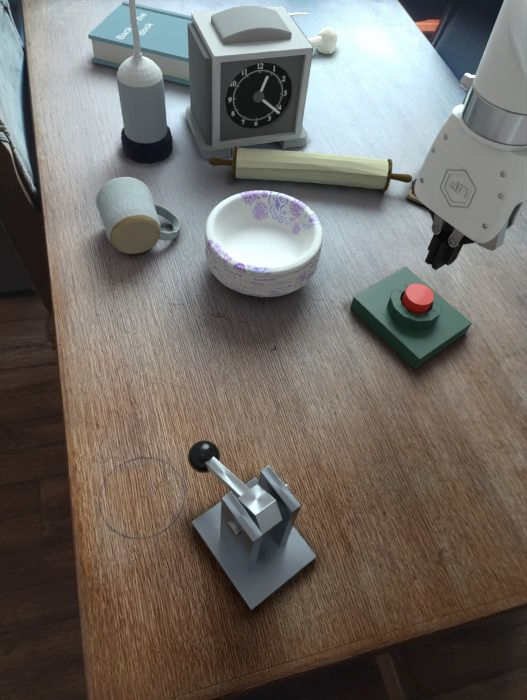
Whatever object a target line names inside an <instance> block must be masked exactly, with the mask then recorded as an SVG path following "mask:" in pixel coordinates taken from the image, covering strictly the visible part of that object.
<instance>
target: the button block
mask: <svg viewBox="0 0 527 700" xmlns="http://www.w3.org/2000/svg"><path fill="white" fill-rule="evenodd" d="M411 284H423V285H425V286H427V287H429V288H430V289H431V290H432V292H433V294H434V300H433V302H432V304H431V306H430V308H429V310H428V311H427V312H425V313H422V314H416V313H413V312H410V311H408V310H407V309H406V308H405V307H404V306H403V304H402V298H403V295H404V293H405V291H406V288H407V287H408V286H409V285H411ZM349 308H350V309H351V310H352V311H353V312H354V313H355V314H356V315H358V316H359V318H360V319H362V320H363V321H364V323H366V325H368V326H369V327H370V328H371V329H372V330H373V331H374V332H375V333H376V334H377V335H378V336H379V337H380V338H381V339H383V341H385V342H386V343H387V344H388V346H390V347H391V348H392V349H393V350H394V351H395V352H396V353H397V354H398V355H399V356H400V357H401V358H402V359H403V360H405V362H406V363H408V365H409V366H411V367H412V368H413V369H414V370H415V369H417V368H419V367H420V366H421V365H422V364H424V363H425V362H427V361H428V360H430V359H431V358H432V357H434V356H435V355H437V354H438V353H440V352H441V351H442V350H444V349H445V348H447V347H448V346H450V345H451V344H453V343H454V342H456V341H457V340H459V339H460V338H461V337H462V336H464V335H466V334H467V332H468V330H469V329H470V328H471V326H472V324H473V322H472V321H470V320H469V319H468V318H467V317H465V315H463V314H462V313H461V312H460V311H459V310H457V309H456V308H455V307H454V306H452V304H450V303H449V302H448V301H447V300H446V299H445V298H443V297H442V296H441V295H440V294H439V293H438V292H437V291H435V290H434V289H433V288H432V287H431V286H429V285H428V284H427V283H426V282H425V281H423V280H422V279H421V278H420V277H419V276H418V275H417V274H415V273H414V272H413V271H412V270H411V269H409V268H408V267H407V266H404V267H402V268H401V269H399V270H397V271H396V272H393V273H392V274H390V275H389V276H387V277H385V278H383V279H382V280H380V281H378V282H376V283H375V284H374V285H372V286H370V287H368V288H366V289H365V290H363V291H362V292H359V293H358V294H356V295H354V296H353V298H352V301H351V304H350V307H349Z"/></svg>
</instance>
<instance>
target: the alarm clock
mask: <svg viewBox="0 0 527 700" xmlns="http://www.w3.org/2000/svg"><path fill="white" fill-rule="evenodd" d="M288 13H289V12H288V11H287V9H286V8H285V7H284V6H283V5H282V6H281V5H280V6H279V5H278V6H269V7H268V6H266V7H264V6H257V5H241V6H234V7H231V8H227V9H223V10H211V11H210V10H209V11H208V10H207V11H195V12H194V11H193V12H191V13H190V14H191V15H190V16H191V19H192V23H187V27H188V54H189V81H190V86H189V104H190V105H187V106H186V108H185V117H186V121H187V123H188V125H189V128H190V130H191V133H192V135H193V137H194V139H195V142H196V144H197V147H198V149H199V152H200V154H201V156H202V157H204V159H210V158H226V157H231V154H232V153H231V152H232V151H231V149H232V148H234V146H237V148H240V147H244V146H245V147H246V146H253V145H261V144H268V143H274V142H275V143H276V142H279V144H280V145H281V147H282V149H291V148H298V147H304V146H305V145H306V143H307V138H308V137H307V136H308V133H307V131H306V129H305V127H304V126H303V122H304V117H305V109H306V101H307V95H308V87H309V82H310V75H311V67H312V60H313V53H314V48H313V46H312V44H311V43H310V41H309V40H308V39H309V38H307V36H306V34H305V33H304V32H303V30H302V29H301V28H300V26H299V25H298V23H297V22H296V20H295V19H294V18H293V16H290V15H289V14H288Z"/></svg>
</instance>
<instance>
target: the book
mask: <svg viewBox="0 0 527 700" xmlns="http://www.w3.org/2000/svg"><path fill="white" fill-rule="evenodd" d="M135 5H136V18H137V25H138V30H139V38H140V52H141V53H142V56H144V57H147V58H149V59H150V60H152V61H153V62H154V63H155V64H156V65H157V66H158V67H159V68H160V70H161V72H162V75H163V76H162V77H163V80H164V81H170V82H173V83H176V84H177V83H178V84H182V85H186V86H189V87H190V81H189V54H188V27H187V23H192V19H191V15H187V14H183V13H178V12H175V11H170V10H167V9H163V8H157V7H153V6H148V5H145V4H139V3H135ZM87 37H88V39H89V40H91V45H92V50H93V57H92V58H91V59H92V63H95V64H99V65H103V66H107V67H110V68H115V69H119V67H120V65H121V64H122V63H123V62H124V61H125V60H126V59H128V58H130V57H132V56H133V53H134V45H133V33H132V27H131V22H130V8H129V1H127V0H123V1H122V2H121V4H119V5H118V6H117V7H116V8H115V9H114V10H113V11H111V12H110V14H109V15H107V16H106V17H105V18H104V19H103V20H102V21H100V23H99V24H97V26H95V27H94V28H93V29H92V30H91V31H90V32H89V33H88V34H87Z"/></svg>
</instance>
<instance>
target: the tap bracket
mask: <svg viewBox="0 0 527 700" xmlns="http://www.w3.org/2000/svg"><path fill="white" fill-rule="evenodd" d="M244 484H245V485H246V486H247V487H248V488H249V489H251V488H253V487H254V486H256V485H257V484H258V485H259V486H261V487H262V488H263V489H264V490H265V491H266V492H267V493H269V494H270V495H271V496H272V497H273V498H274V499H275V500H276V501H277V504H278V507H279V510H280V513H281V517H282V520H281V521H280V522H279V523H277V524H276V525H275V526H273V527H272V528H271V529H269V530H268V531H267V532H265V533H264V534H262V532H261V531H260V530H259V528H258V527H257V526H256V524H255V523H254V522H253V520H252V519H251V517H250V516H249V515H248V513H247V512H246V511H245V509H244V508H243V507H242V505H241V504H240V503H239V501H238V498H237V497H236V496H234V494H233V493H232V492H230V491H229V492H228V493H227V494H224V495H223V496H221V498H220V499H221V500H220V501H219V502H218V503H216V504H214V505H213V506H212V507H210V508H209V509H207V510H206V511H205V512H203V513H202V514H200V515H198V516H197V517H195V518H194V520H192V521H191V527H192V528H193V530H194V532H195V533H196V534H197V535H198V537H199V538H200V540H201V541H202V543H203V544H204V546H205V548H206V549H207V551H208V552H209V553H210V555H211V556H212V557H213V559H214V561H215V562H216V564H217V565H218V566H219V568H220V569H221V571H222V573H223V574H224V575H225V577H226V579H228V581H229V583H230V584H231V586H232V587H233V588H234V590H235V592H237V595H238V596H239V597H240V599H241V601H242V602H243V604H244V605H245V607H246V608H247V609H248V611H249V612H250V613H252V612H253V611H254V610H256V608H258V607H259V606H261V605H262V604H263V603H264V602H265V601H267V600H268V599H269V598H270V597H272V596H273V595H274V594H275V593H276V592H278V591H279V590H280V589H281V588H283V586H285V585H286V584H287V583H289V582H290V581H291V580H292V579H294V578H295V577H296V576H297V575H298V574H300V573H301V572H302V571H303V570H304V569H306V568H307V567H309V565H311V564H312V563H313V562H315V560H316V559H317V557H318V556H317V554H316V553H315V552H314V550H313V549H312V547H311V546H309V544H308V543H307V541H306V540H305V539H304V538H303V536H302V535H301V533H299V531H298V529H296V527H295V526H294V525H295V523H296V519H297V518H298V515H299V513H300V510H301V508H302V504H301V503H300V502H299V501H298V499H297V498H296V497H295V496H294V494H293V492H292V490H291V488H290V487H289V485H288V484H287V483H286V482H284V481H282V479H281V478H280V477H279V475H278V474H277V473H276V471H274V469H273V468H272V467H271V466H270V465H269V464H268V465H267V466H265V467H264V468H263V469H261V470H260V472H259V476H258V478H257V477H256V476H255V477H253V478H252V479H250V480H249V481H247V482H246V483H244Z"/></svg>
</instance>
